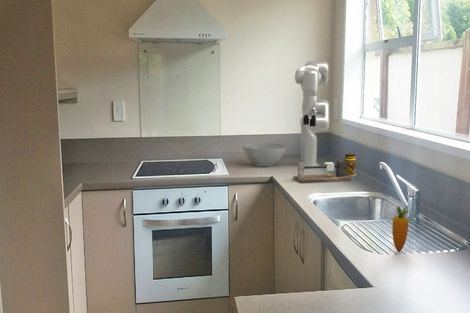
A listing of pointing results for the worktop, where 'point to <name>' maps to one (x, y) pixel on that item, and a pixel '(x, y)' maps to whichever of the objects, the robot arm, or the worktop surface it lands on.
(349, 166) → the condiment
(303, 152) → the robot arm
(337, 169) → the rod slider rig
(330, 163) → the sleeve
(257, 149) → the decorative bowl
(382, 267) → the worktop surface
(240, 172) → the worktop surface
